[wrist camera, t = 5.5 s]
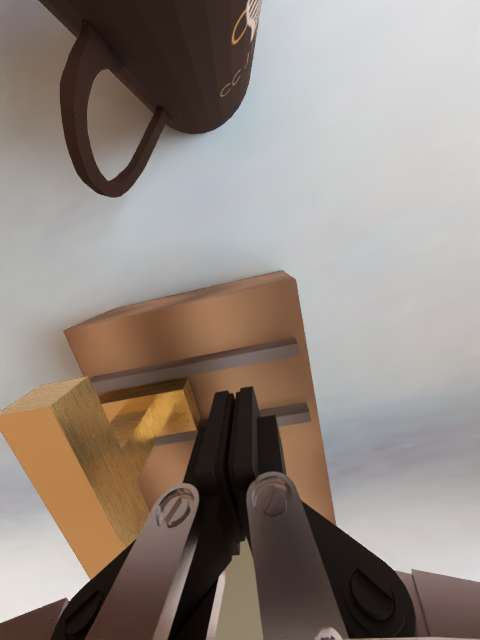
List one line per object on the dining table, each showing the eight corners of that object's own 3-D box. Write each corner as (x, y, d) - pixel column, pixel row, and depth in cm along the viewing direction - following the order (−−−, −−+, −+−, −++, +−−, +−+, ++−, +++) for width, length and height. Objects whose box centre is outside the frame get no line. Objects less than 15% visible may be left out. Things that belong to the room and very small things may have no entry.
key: (171, 328, 12) (103, 396, 6) (213, 456, 14) (189, 589, 8) (79, 347, 12) (-57, 425, 7) (133, 468, 14) (62, 600, 9)
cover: (274, 502, 15) (291, 684, 9) (293, 575, 17) (317, 767, 11) (198, 512, 15) (163, 689, 9) (224, 581, 17) (209, 767, 11)
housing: (282, 270, 16) (300, 282, 10) (324, 510, 22) (351, 605, 16) (116, 308, 17) (47, 337, 11) (198, 525, 23) (181, 617, 17)
